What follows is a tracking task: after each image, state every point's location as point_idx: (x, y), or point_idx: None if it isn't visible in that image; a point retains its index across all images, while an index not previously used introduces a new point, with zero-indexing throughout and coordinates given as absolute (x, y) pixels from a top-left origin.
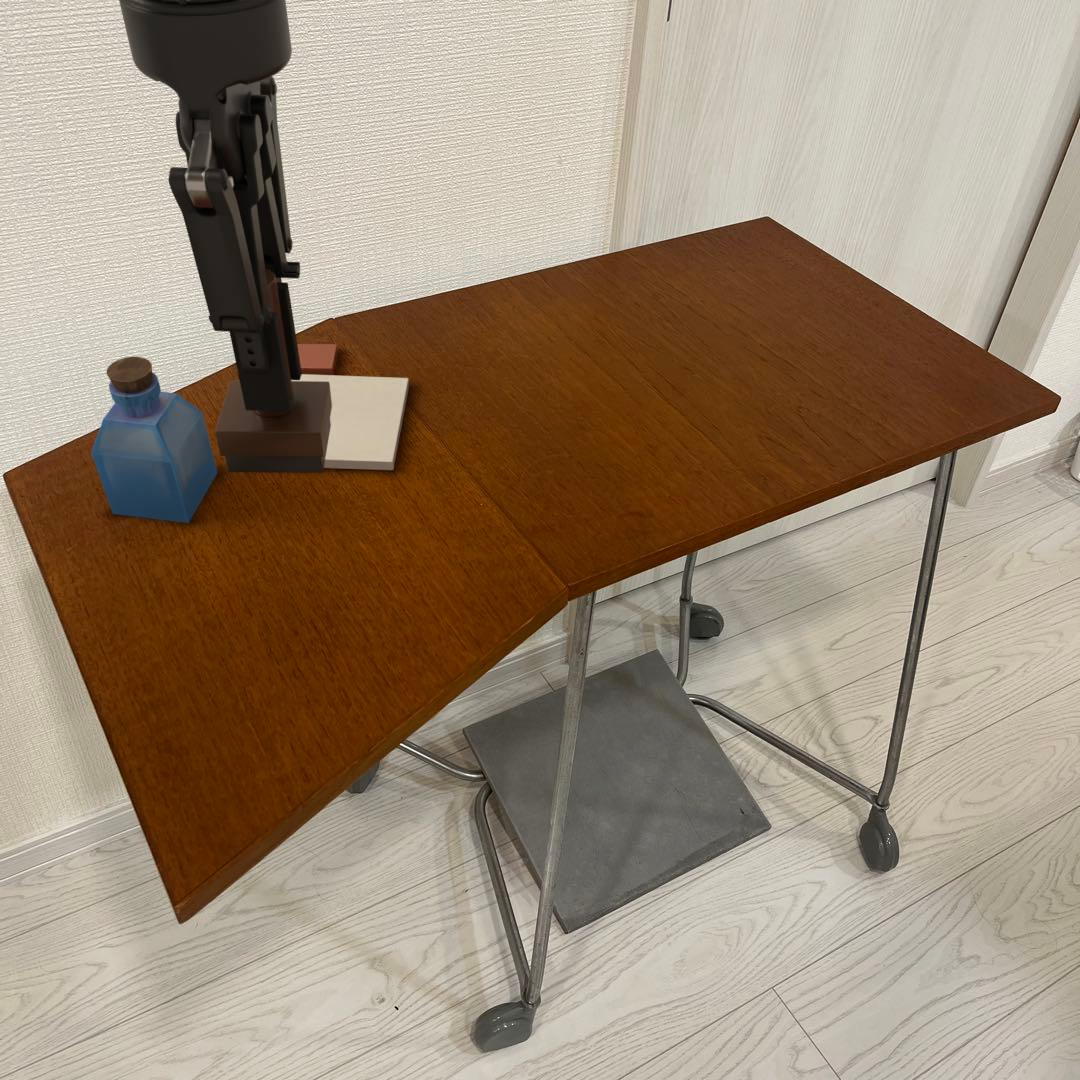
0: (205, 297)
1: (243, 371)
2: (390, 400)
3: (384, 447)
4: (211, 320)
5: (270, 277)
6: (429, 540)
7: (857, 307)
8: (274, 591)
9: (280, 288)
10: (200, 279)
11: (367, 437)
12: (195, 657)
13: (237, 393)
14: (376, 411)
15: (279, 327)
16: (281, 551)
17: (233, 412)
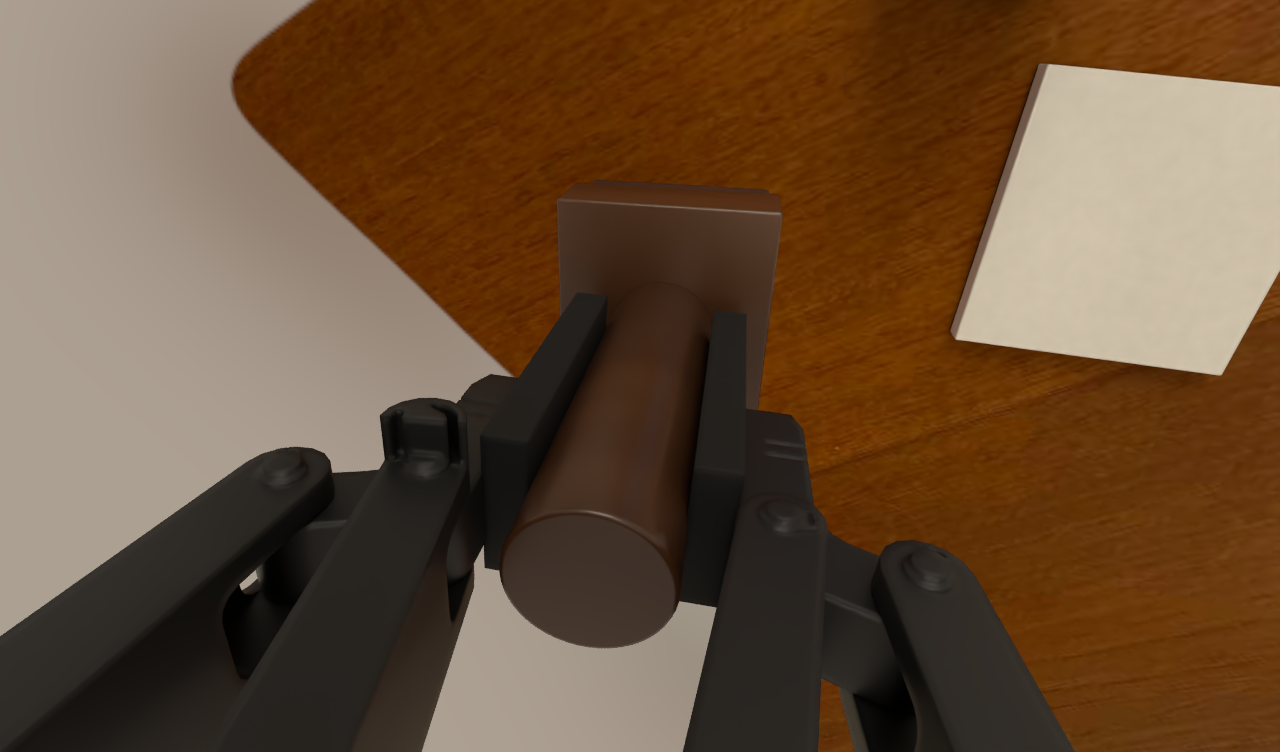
0: (116, 555)
1: (483, 379)
2: (1151, 341)
3: (1000, 327)
4: (224, 479)
5: (591, 637)
6: (769, 375)
7: None
8: (682, 149)
9: (684, 586)
10: (20, 625)
11: (1041, 299)
12: (550, 35)
13: (717, 238)
14: (1122, 316)
15: None
16: (774, 152)
17: (632, 237)
